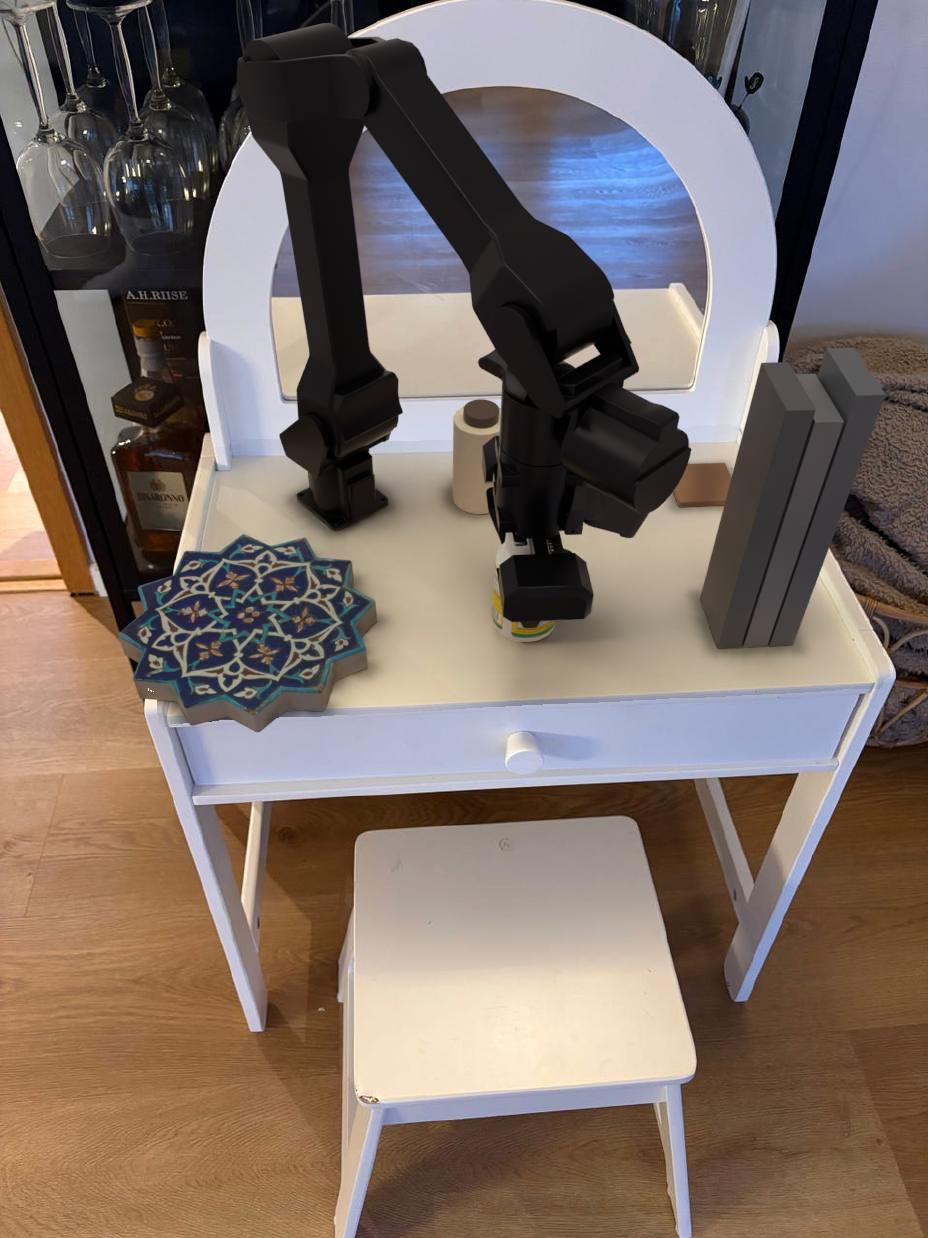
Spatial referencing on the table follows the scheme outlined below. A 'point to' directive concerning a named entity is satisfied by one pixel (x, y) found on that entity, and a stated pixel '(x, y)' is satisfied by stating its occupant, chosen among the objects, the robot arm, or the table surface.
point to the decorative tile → (249, 632)
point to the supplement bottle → (500, 623)
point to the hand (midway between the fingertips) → (525, 602)
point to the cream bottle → (472, 453)
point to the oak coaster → (703, 485)
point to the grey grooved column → (787, 496)
